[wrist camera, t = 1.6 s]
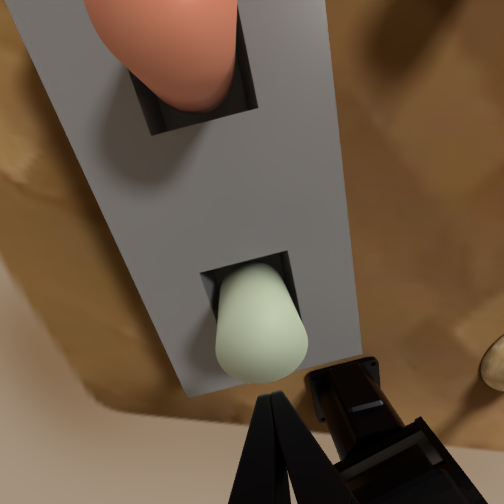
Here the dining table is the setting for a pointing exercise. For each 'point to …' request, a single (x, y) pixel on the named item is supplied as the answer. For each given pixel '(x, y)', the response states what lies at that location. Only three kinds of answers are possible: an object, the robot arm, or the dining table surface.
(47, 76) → the console
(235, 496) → the robot arm
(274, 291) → the sage plug
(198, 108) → the terracotta plug
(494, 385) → the hand bell
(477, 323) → the dining table surface
